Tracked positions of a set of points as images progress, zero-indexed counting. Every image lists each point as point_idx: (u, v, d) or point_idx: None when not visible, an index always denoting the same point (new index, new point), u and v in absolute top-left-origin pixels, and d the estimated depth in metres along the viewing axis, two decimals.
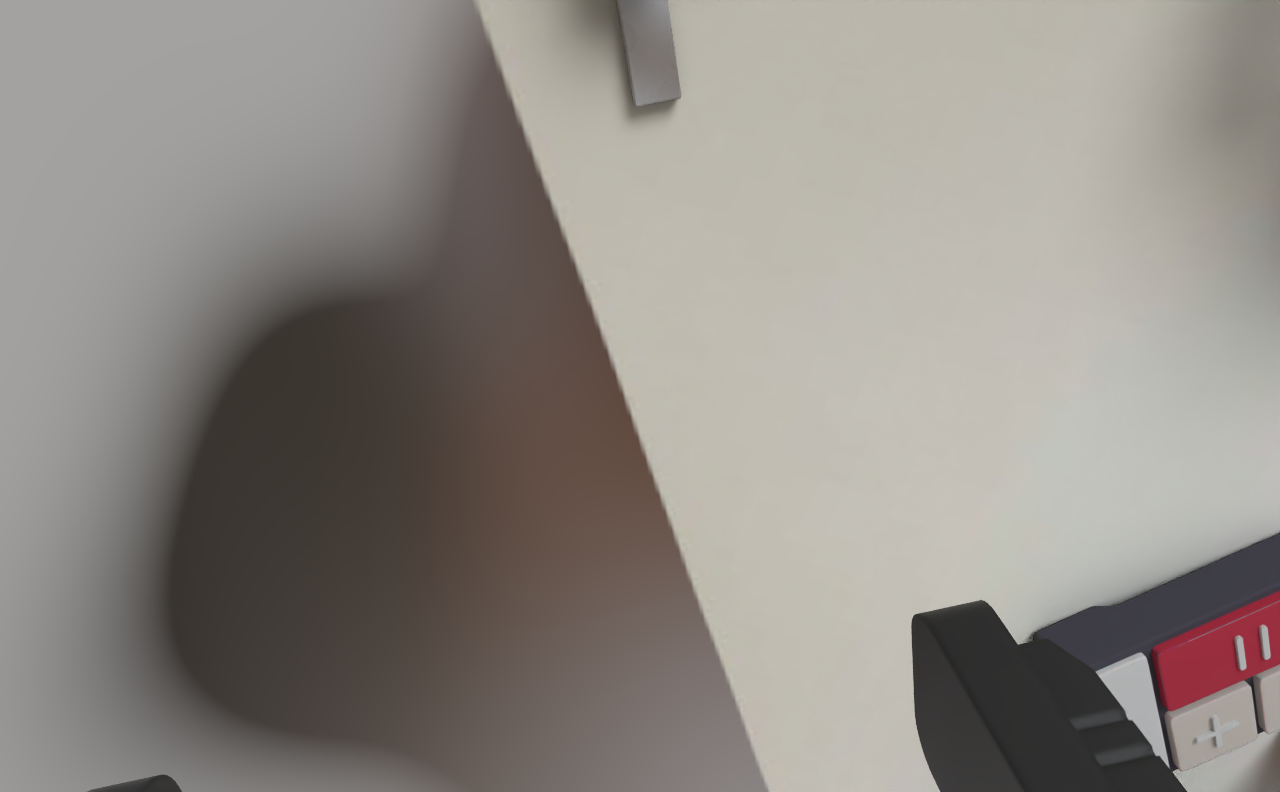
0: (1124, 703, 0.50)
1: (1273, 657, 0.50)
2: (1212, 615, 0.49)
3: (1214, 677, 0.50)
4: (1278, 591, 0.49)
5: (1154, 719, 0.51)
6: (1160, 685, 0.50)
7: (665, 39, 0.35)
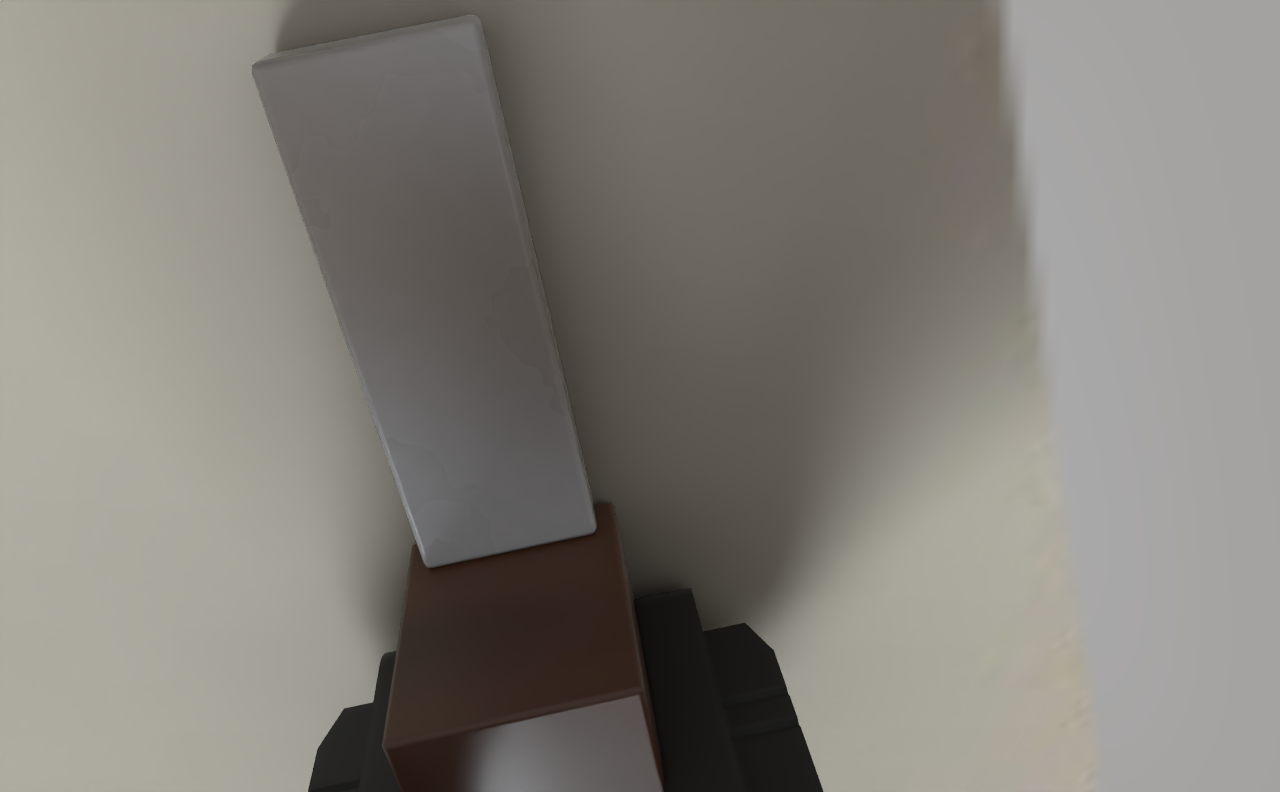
0: None
1: None
2: None
3: None
4: None
5: None
6: None
7: (370, 318, 0.08)
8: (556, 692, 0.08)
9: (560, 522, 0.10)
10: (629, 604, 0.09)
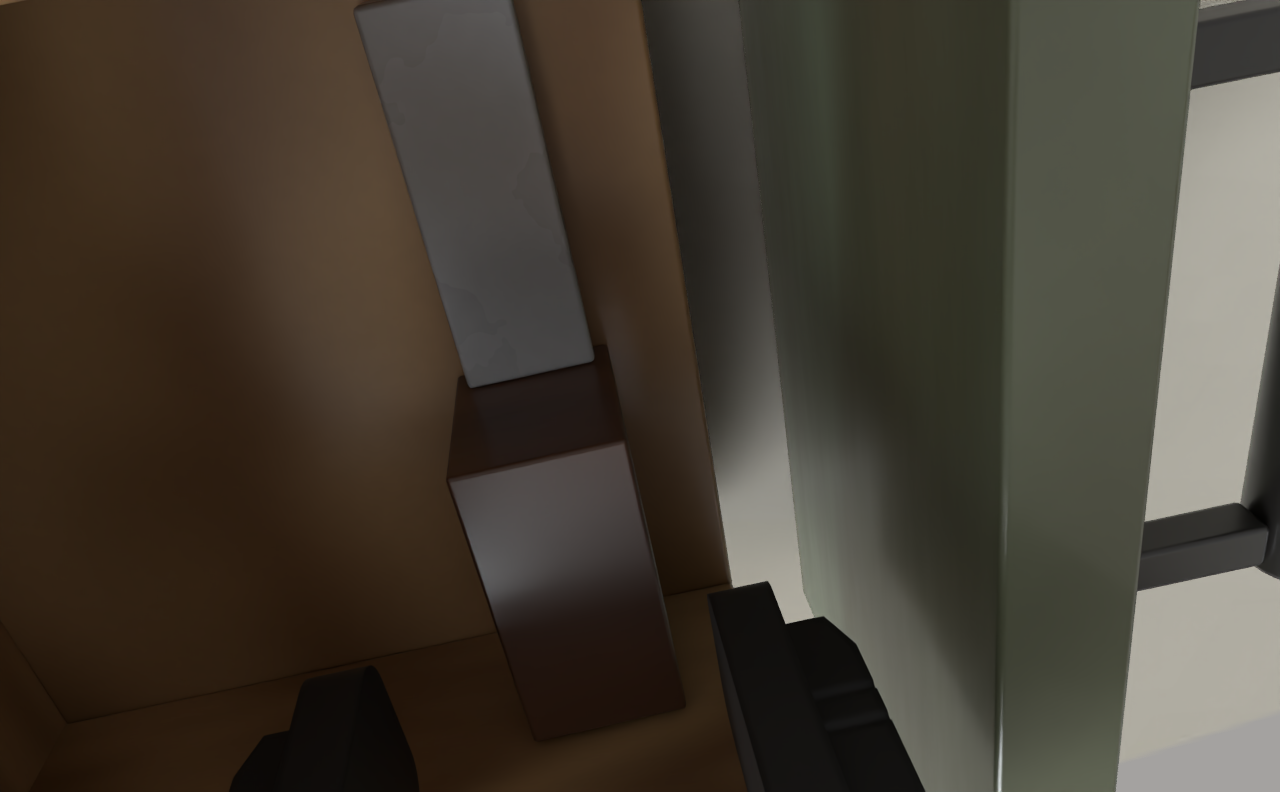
0: None
1: None
2: None
3: None
4: None
5: None
6: None
7: (431, 191, 0.12)
8: (566, 444, 0.11)
9: (567, 351, 0.13)
10: (618, 398, 0.12)
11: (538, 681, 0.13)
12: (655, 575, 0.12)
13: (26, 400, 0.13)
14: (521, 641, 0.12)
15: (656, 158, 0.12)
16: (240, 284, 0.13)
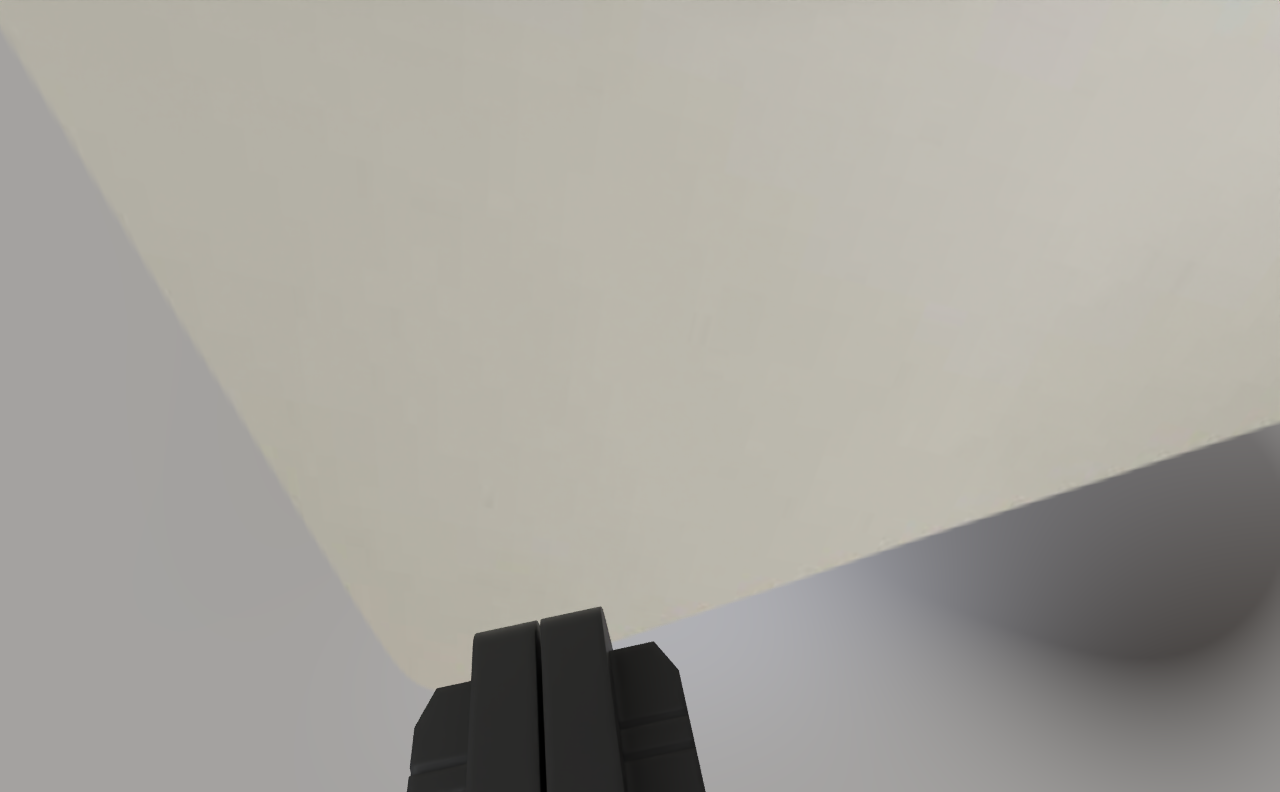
0: None
1: None
2: None
3: None
4: None
5: None
6: None
7: None
8: None
9: None
10: None
11: None
12: None
13: None
14: None
15: None
16: None
